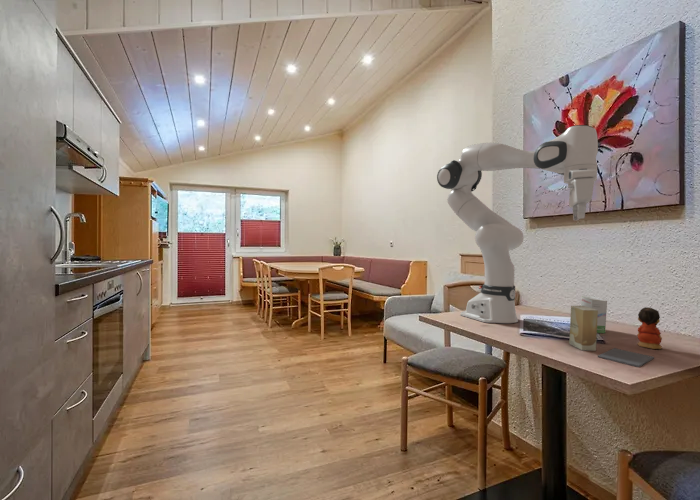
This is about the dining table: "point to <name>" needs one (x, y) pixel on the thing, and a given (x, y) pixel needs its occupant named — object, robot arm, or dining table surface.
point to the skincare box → (583, 328)
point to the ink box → (597, 305)
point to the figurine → (649, 329)
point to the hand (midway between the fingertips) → (578, 219)
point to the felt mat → (626, 357)
